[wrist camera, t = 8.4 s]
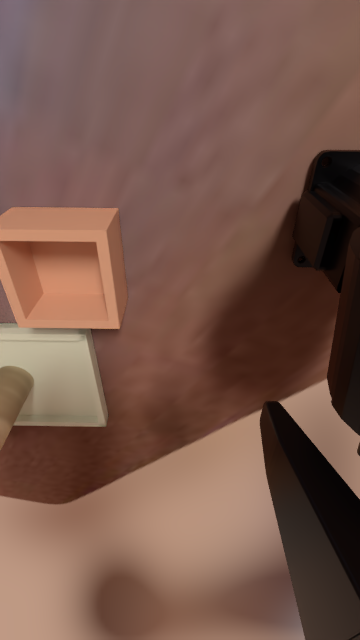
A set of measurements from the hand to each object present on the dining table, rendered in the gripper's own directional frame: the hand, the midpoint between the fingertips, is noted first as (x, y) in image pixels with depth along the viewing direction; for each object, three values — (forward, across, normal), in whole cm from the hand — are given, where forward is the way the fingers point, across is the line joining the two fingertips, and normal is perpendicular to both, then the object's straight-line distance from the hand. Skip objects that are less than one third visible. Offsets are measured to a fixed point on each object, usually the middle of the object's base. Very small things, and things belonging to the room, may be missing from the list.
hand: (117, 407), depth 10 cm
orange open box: (+12, +5, +1) cm, 14 cm away
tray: (+12, +12, +12) cm, 21 cm away
